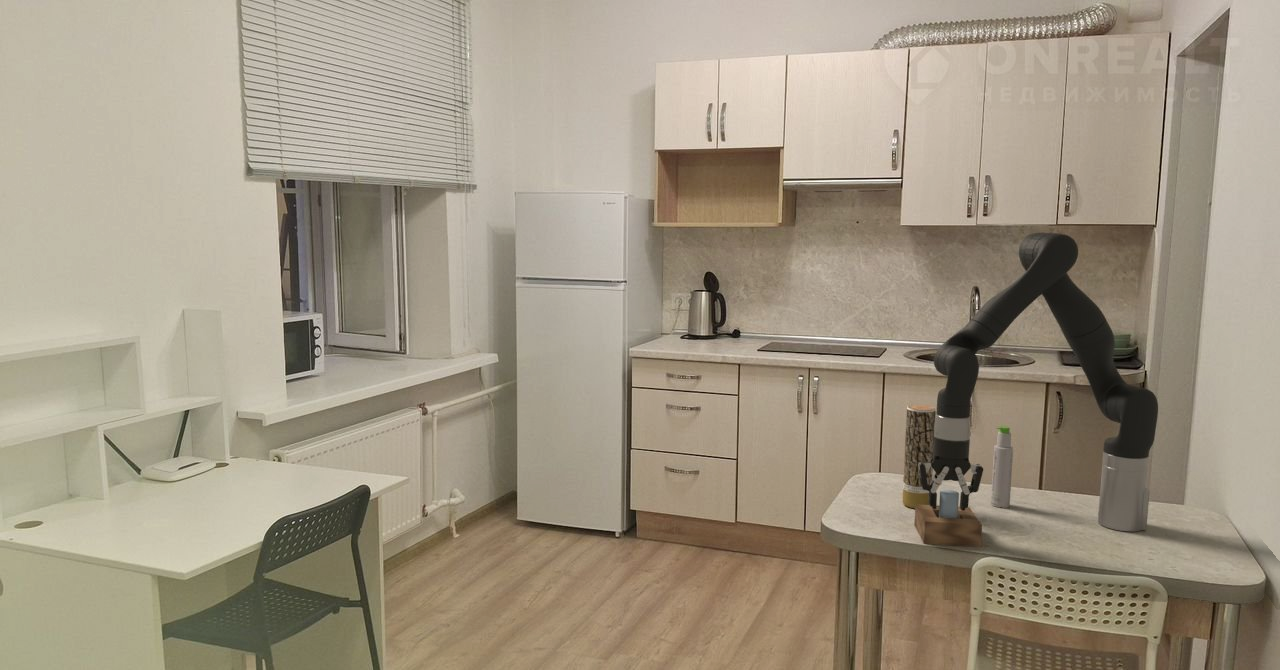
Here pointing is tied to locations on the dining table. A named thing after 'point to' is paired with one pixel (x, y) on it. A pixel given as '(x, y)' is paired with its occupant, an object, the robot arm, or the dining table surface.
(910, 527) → the dining table surface
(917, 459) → the brown bark cylinder
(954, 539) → the socket block
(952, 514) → the peg
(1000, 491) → the bottle
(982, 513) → the dining table surface
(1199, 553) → the dining table surface
